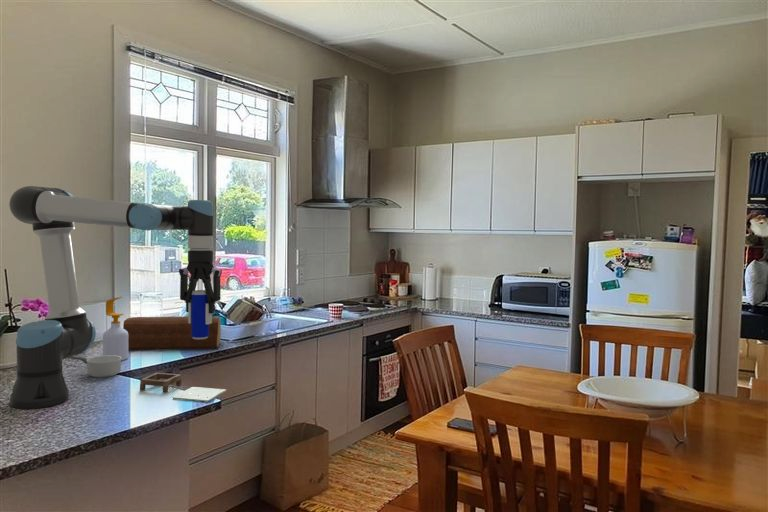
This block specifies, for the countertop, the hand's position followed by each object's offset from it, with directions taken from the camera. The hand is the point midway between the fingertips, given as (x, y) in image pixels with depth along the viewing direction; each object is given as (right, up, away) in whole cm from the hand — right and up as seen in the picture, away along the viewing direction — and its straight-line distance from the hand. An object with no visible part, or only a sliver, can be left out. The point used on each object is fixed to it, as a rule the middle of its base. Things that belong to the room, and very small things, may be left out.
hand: (200, 323), depth 179 cm
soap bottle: (-48, -20, +45) cm, 69 cm away
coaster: (0, -23, +1) cm, 23 cm away
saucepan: (-46, -21, +24) cm, 56 cm away
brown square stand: (-15, -22, +8) cm, 28 cm away
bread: (-35, -19, +71) cm, 82 cm away
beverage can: (0, -5, 0) cm, 5 cm away
